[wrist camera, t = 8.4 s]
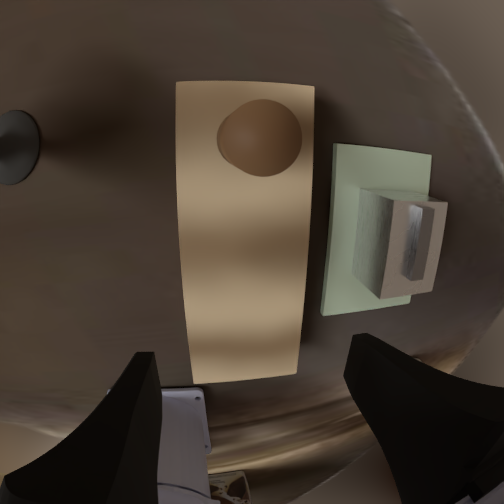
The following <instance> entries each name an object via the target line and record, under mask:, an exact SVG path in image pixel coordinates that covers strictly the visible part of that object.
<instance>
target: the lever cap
mask: <svg viewBox="0 0 504 504" xmlns="http://www.w3.org/2000/svg"><path fill="white" fill-rule="evenodd" d="M447 206H448V202H445V201H442V200H439V199H436V198H433V197H430V196H427V195H423V194H420V193H417V192H414V191H409V190H389V189H364V188H360V192H359V205H358V217H357V228H356V238H355V247H354V256H353V264H352V272H351V274H352V275H353V276H354V277H355V278H357V279H358V280H359V281H360V282H361V283H362V284H363V285H364V286H365V287H366V288H368V289H369V290H370V291H371V292H372V293H373V294H374V295H375V296H376V297H377V298H378V299H380V300H381V299H388V298H394V297H400V296H407V295H413V294H419V293H424V292H430V291H432V288H433V284H434V280H435V275H436V271H437V266H438V261H439V256H440V251H441V245H442V239H443V233H444V227H445V220H446V213H447Z"/></svg>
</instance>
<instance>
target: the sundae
mask: <svg viewBox="0 0 504 504" xmlns="http://www.w3.org/2000/svg"><path fill="white" fill-rule="evenodd" d="M38 151H39V134H38V130H37V126H36V125H35V123H34V121H33V120H32V118H31V117H30V116H29V115H28V114H26V113H24V112H22V111H9V112H7V113H5V114H3V115H2V116H0V183H1V184H6V185H13V184H16V183H18V182H20V181H22V180H23V179H24V178H25V177H26V176H27V175H28V174H29V173H30V172H31V170H32V169H33V167H34V165H35V162H36V160H37V157H38Z"/></svg>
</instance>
